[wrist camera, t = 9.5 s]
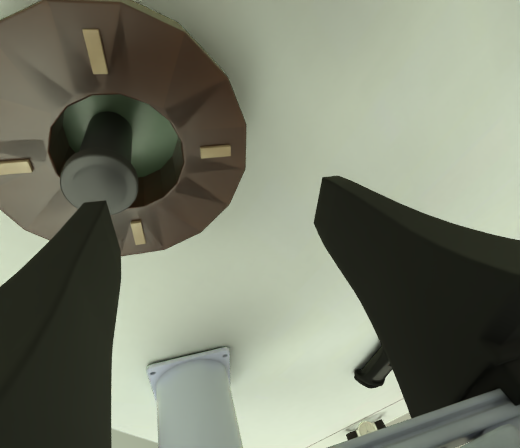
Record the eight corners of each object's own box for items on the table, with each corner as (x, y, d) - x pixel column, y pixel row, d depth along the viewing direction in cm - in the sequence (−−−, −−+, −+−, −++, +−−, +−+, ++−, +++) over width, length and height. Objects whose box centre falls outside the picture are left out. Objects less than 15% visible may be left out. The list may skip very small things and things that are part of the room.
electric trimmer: (428, 299, 39) (447, 320, 37) (370, 371, 47) (383, 392, 45) (405, 299, 38) (423, 321, 35) (349, 374, 46) (361, 396, 43)
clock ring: (232, 209, 21) (245, 240, 18) (38, 233, 18) (23, 274, 16) (232, 1, 14) (251, 7, 12) (-80, -13, 11) (-139, -9, 9)
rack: (194, 181, 20) (212, 251, 15) (53, 195, 18) (19, 281, 13) (182, 36, 15) (203, 67, 10) (-13, 33, 13) (-106, 70, 8)
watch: (380, 412, 61) (391, 432, 58) (379, 420, 64) (390, 440, 61) (343, 428, 60) (353, 449, 57) (344, 435, 63) (353, 456, 60)
